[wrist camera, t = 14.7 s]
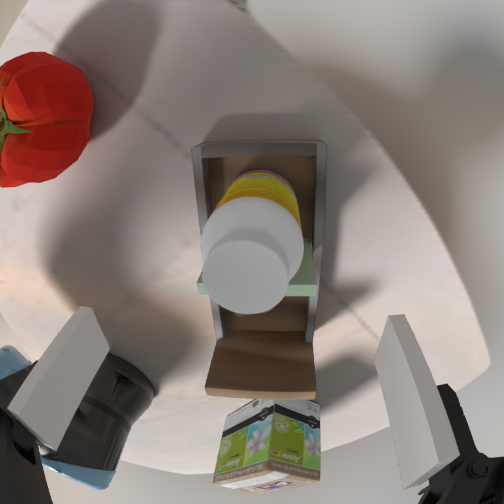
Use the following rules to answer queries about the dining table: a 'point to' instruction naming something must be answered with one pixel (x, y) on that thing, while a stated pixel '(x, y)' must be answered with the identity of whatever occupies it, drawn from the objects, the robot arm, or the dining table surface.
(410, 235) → the dining table surface
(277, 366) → the lane
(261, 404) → the tea box
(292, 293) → the pusher
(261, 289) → the supplement bottle
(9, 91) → the tomato
